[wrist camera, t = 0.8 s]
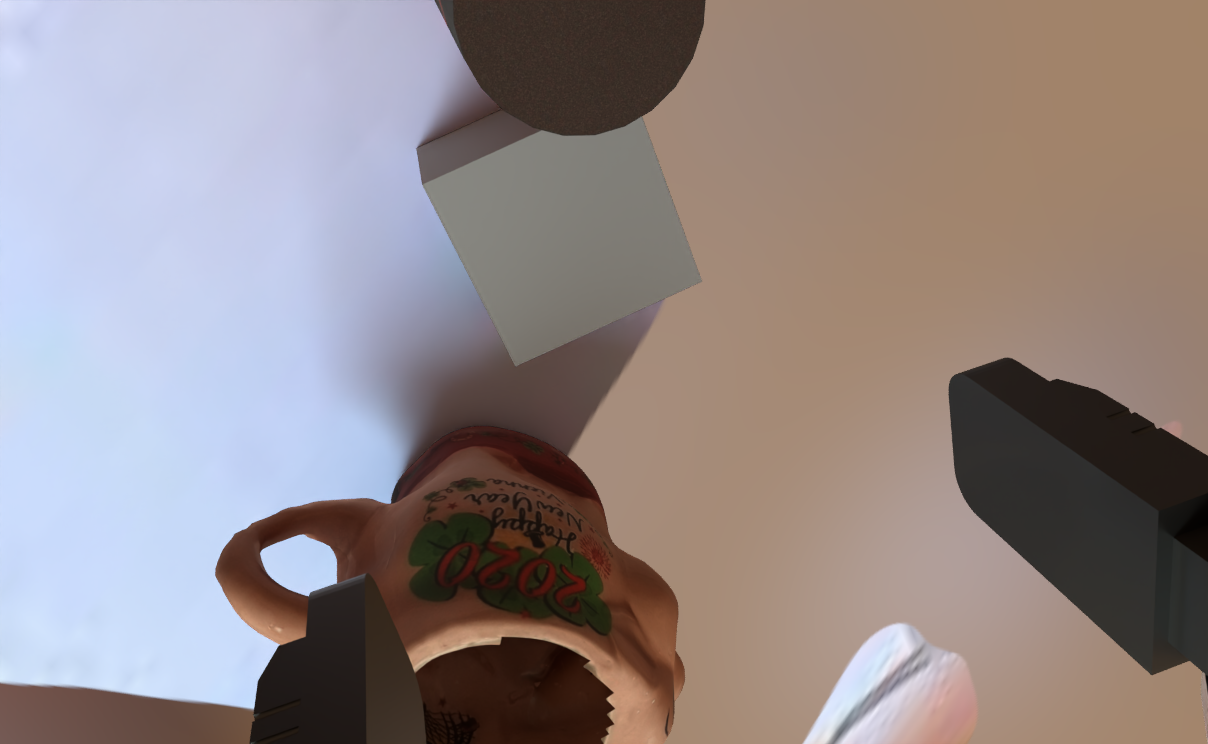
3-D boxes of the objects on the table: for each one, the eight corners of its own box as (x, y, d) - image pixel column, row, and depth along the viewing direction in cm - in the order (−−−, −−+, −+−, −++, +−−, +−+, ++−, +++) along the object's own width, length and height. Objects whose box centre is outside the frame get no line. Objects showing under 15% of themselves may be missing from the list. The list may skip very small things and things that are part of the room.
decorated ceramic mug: (203, 555, 43) (139, 816, 31) (282, 328, 39) (243, 529, 27) (589, 634, 51) (657, 870, 39) (690, 450, 47) (801, 651, 35)
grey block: (416, 148, 37) (422, 184, 33) (601, 64, 37) (631, 88, 33) (500, 314, 41) (515, 366, 37) (667, 238, 41) (702, 281, 37)
